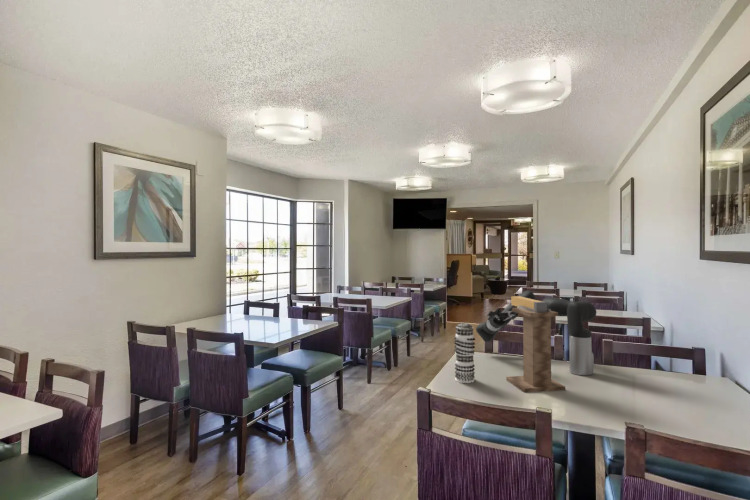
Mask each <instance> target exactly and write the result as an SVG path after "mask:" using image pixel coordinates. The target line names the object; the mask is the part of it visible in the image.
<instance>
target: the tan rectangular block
mask: <svg viewBox="0 0 750 500" xmlns="http://www.w3.org/2000/svg"><path fill="white" fill-rule="evenodd" d="M510 300H511V302H510V303H511V305H513V306H517V308H519V305H521V306H525V307H529V308H532V309H536V310H537V312H547V302H542V301H543V300H538V299H537V300H534V299H529V298H525V297H521V296H518V295H517V296H514V295H513V296H511V299H510Z"/></svg>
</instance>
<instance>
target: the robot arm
mask: <svg viewBox="0 0 750 500" xmlns="http://www.w3.org/2000/svg"><path fill="white" fill-rule="evenodd" d="M517 296H521V297H525V298H529V299H534V300H538V299H537V297H536V295H535V294H534V292H533V291H532V290H525V291H522V292H521V293H520V294H518V295H517ZM541 301H542V302H547V309H551V311H554V312H558V316H557V317H566V318H567V319H566V320H567V329H568V332H569V333H568V334H569V338H568V339H569V341H568V342H569V344H568V345H569V373H571V374H573V375H577V376H578V375H579V376H591V375H593V374H594V373H595V372H594V371H595V370H594V366H595V365H594V363H595V362H594V353H593V352H592V331H591V330H590V329H588V328H585V327H584V325H583V322H590V321H592V320H594V319H595V318H596V317H597V316H596V315H597V309H596V307H595V306H594V304H593V303H591V302H589V301H572V300H567V299H564V298H557V297H550V296H549V297H545V298H543V299H542V300H541ZM512 308H518V307H517V306H513V305H511V302H510V303H509V304H508V305H507V307H505V309H503V310H502V309H501V307H500V308H497V309H495V310H493V311H492V310H490V311H489V312H488V314H487V315H486V317H487V320H486V321H484V322H481V323H479V324H478V325H476V329H475V330H476V333H477V334H478V336H480V338H481V339H482V340H483V342H485V343H489V342H491V341H492V340H493V339H494V338H495V337H496V335H497V334H498V333H499V331H501V329H503V328H504V327H505V326H507V325H508V324H509V323H510V322H511V321H512V320H515V319H516V318H517V317H518V316H519V313H516V312H513V311H512ZM501 310H502V311H501Z"/></svg>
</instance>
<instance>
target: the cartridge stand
mask: <svg viewBox="0 0 750 500" xmlns="http://www.w3.org/2000/svg"><path fill="white" fill-rule="evenodd" d="M512 311H513V312H516V313H518V314H520V315H523V316H522V321H523V322H522V327H523V328H522V331H523V332H522V333H523V337H522V338H523V339H522V341H523V343H522V344H523V345H522V346H523V347H522V348H523V350H522V351H523V357H522V358H523V375H516V376H515V375H512V376H511V375H510V376H506V379H505V380H506V382H508V383H510V384H511V385H513V386H514V387H515V388H516V389H518V390H520V391H521V392H523V393H536V392H537V393H539V392H555V391H558V392H559V391H566V386H565V385H563V384H561V383H560V382H559V381H556V380H554V379H553V378H552V317H559V316H558V312H554V311H551V309H547V312H537V310H536V309H532V308H529V307H525V306H521V305H519V307H517V308H512Z"/></svg>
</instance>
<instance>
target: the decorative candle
mask: <svg viewBox="0 0 750 500" xmlns="http://www.w3.org/2000/svg"><path fill="white" fill-rule="evenodd" d="M474 329H475V327H474V326H473V325H472V324H471V323H469V322H459V323H458V324H457V325H456V326H455V336H454V339H453V340H454V341H453V342H454V354H455V357H456V358H455V364H454V366H455V368H454V369H455V371H454V374H455V375H454V376H455V378H454V379H455V381H456V382H458V383H462V384H470V383H471V382H472V383H474V382H475V381H474V380H475V378H476V377H475V374H476V372H475V369H476V368H475V367H476V366H475V360H474V355H475V352H476V351H475V350H474V349H476V347H475V345H476V343H475V342H474V341H475V340H476V338H475V337H474V335H475V334H474Z"/></svg>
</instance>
